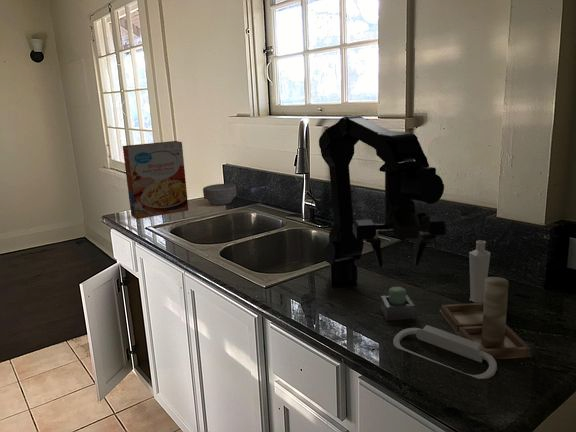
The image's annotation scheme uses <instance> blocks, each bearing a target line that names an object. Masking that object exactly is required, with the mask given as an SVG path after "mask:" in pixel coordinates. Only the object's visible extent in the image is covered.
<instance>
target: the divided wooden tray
mask: <svg viewBox="0 0 576 432" xmlns="http://www.w3.org/2000/svg"><path fill="white" fill-rule="evenodd" d="M483 308H484V303H475V302H473V303H456V304H455V303H453V304H441V307H440V309H438V311H439V313H441V314H442V316H443V318H445V320H446V321H447V322H448V324H449V326H451V328H452V329H453V330H454V332H455V333H456V335H457V336H460V337H463V338H465V339H468V340H471V341H474V342H477V343H479V344H481V351H484V352H486V353H488V354H489V355H491V356H492V357H493V358H494V359H495V360H501V359H502V360H503V359H504V360H505V359H516V358H517V359H519V358H532V357H533V356H532V355H531V350H532V348H531V347H530V346H529V345H528V344H527V343H526V342H525V341H524V340H523V339H522V338H521V337H519V335H518V334H517V333H516V332H514V330H513V329H512V328H511V327H510V326H508V324H507V323H506V326H505V340H504V348H494V349H488V348H486V347H484V346H483V345H482V343H481V342H482V325H483ZM478 352H479V351H478ZM483 360H484V359H483V358H482V361H483ZM484 361H485V360H484Z"/></svg>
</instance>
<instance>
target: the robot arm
mask: <svg viewBox="0 0 576 432" xmlns="http://www.w3.org/2000/svg"><path fill="white" fill-rule="evenodd" d="M359 141H360V142H362V143H363V144H365V145H368V146H370V147H372V148H373V149H375V154H376V156H377V157H378V159H381V160H382V161H383V162H384V163H383V164H382V165H381V166H380V167H379V168H378V169H379V170H378V171H379V172H382V173H384V199H383V200H384V201H383V202H384V216H383V220H384V223H374V222H373V220H372V219H357V220H356V219H355V220H354V212H353V210H354V209H353V199H352V188H351V176H350V175H351V174H350V164H351V162H352V160H353V157H354V155H355V145H356V144H357V143H358V142H359ZM318 147H319V149H320V154H321V158H322V159H323V161H324V162H325V163H326V164H327V166H328V170H329V171H328V172H329V180H330V189H331V190H330V191H331V202H332V203H331V204H332V213H333V225H332V227H331V229H330V231H329V234H328V244H327V245H326V247H325V248H324V250H323V251H322V258H323V261H325V262H326V263H328V265H329V276H328V279H329V283H330V286H331V287H332V288H339V287H356V286H357V284H358V283H357V281H358V265H357V264H356V261H357V260H358V261H359V260H361V259H362V254H363V250H364V245H365V243H364V241H365V242H366V243H370V246H371V248H372V250H373V253H374V256H375V259H376V261H377V264H378V266H379V268H382V267H383V256H382V248H381V243H382V240H381V238H380V237H379V234H381V233H383V234H384V233H385V234H386V233H394V238H395V239H397V240H404V239H413V240H414V242H413V244H414V246H413V261H414V262H413V264H414V266H418V265H419V263H420V260H421V257H422V255H423V253H424V250H425V249H426V247H427V245H428V244H429V243H430V242H431V241H432V240H436V238H437V236H445V235H447V227H448V225H447V223H446V221H444V220H442V218H440V217H439V216H437V215H430V213H429V212H427V211H426V212H416V209H415V207H416V206H415V201H417V202H421V203H424V204H427V205H433V204H436V203H438V201H439V200H440V199H441V198H442V197H443V194H444V192H445V184H444V181H443V179H442V178H441V176H440V175H439V174H437V169H436V167H433V166H430V163H429V161H428V158H427V156H426V155H425V153H424V150H423V147H422V146H421V144H420V141H419V139H418V136H417V135H416V134H414V133H413V132H407V131H397V130H396V131H395V130H389V129H386V128H385V127H383V126H380V125H378V124H376V123H374V122H372V121H369V120H367V119H365V118H364V117H363V116H362V115H360V114H359V115H358V114H357V115H345V116H342V117H341V118H339V120H338V121H337V122H336V123H334V124H333V125H330V126H329V127H327V128H326V129H325V130H324V131H323V132H322V134H321V135H320V137H319V139H318Z"/></svg>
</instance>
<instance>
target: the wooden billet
mask: <svg viewBox="0 0 576 432" xmlns="http://www.w3.org/2000/svg"><path fill="white" fill-rule="evenodd" d="M509 284H510V283H509V280H508V279H506V278H504V277H499V276H487V278H486V279H485V291H484V308H483V325H482V342H481V343H482V345H483V346H484V347H486V348H488V349H494V348H504V340H505V326H506V324H507V311H508V310H507V309H508V296H509V295H508V294H509Z"/></svg>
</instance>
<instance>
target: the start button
mask: <svg viewBox="0 0 576 432" xmlns="http://www.w3.org/2000/svg"><path fill="white" fill-rule="evenodd" d="M406 295H407V290H406V289H405V288H404V287H402V286H391V287H390V288H388V296H389V304H390V305H405V304H406Z"/></svg>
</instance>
